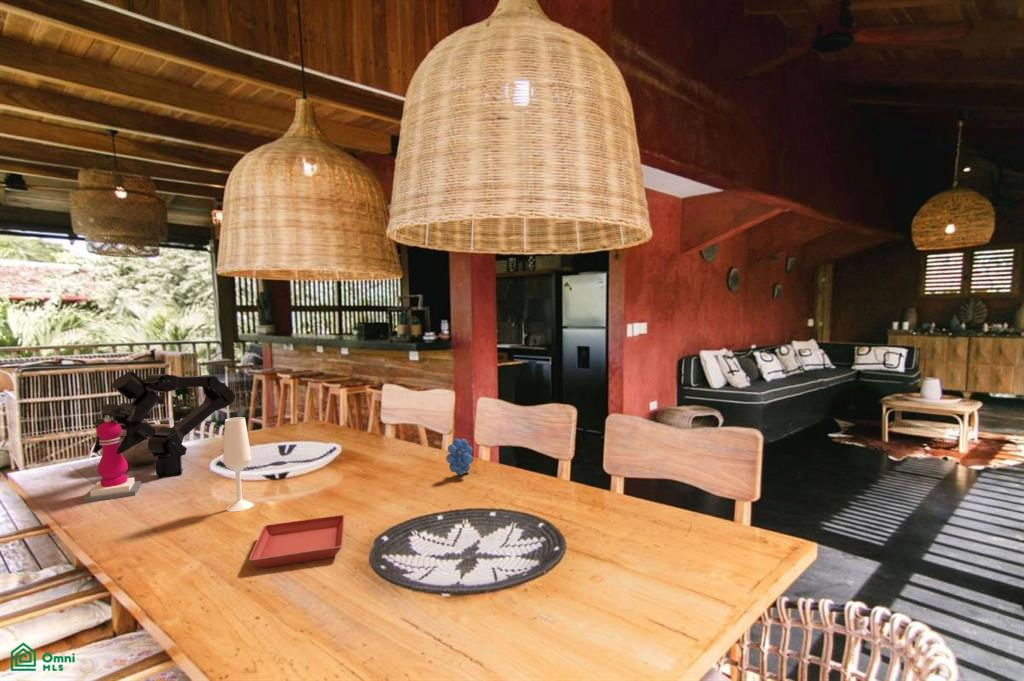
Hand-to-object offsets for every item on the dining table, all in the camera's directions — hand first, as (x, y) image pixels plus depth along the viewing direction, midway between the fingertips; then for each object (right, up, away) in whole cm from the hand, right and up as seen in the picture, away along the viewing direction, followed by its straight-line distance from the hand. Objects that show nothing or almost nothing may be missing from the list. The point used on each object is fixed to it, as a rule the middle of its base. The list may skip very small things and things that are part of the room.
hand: (105, 452), depth 153 cm
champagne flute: (+45, -12, -11) cm, 48 cm away
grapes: (+103, -10, +11) cm, 104 cm away
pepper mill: (+1, -10, +2) cm, 10 cm away
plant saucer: (+72, -14, -36) cm, 82 cm away
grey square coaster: (+1, -12, +2) cm, 13 cm away
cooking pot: (-12, -11, +33) cm, 37 cm away
